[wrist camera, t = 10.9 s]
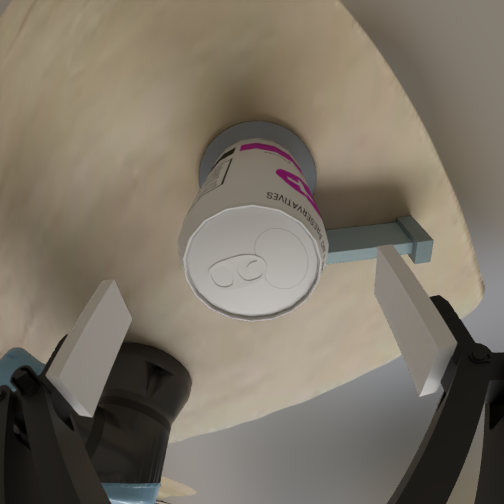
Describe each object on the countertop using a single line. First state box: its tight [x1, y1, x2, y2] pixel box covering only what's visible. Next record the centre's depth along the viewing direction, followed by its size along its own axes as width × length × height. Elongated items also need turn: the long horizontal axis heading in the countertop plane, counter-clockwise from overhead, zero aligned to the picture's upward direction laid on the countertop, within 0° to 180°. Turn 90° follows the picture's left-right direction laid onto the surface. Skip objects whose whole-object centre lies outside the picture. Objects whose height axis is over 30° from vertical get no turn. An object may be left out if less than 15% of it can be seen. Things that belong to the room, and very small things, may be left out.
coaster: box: [199, 121, 316, 196], centre depth 29 cm, size 11×11×1 cm
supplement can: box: [178, 138, 329, 322], centre depth 22 cm, size 8×8×15 cm
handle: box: [325, 216, 433, 264], centre depth 30 cm, size 20×2×6 cm, turn 99°
